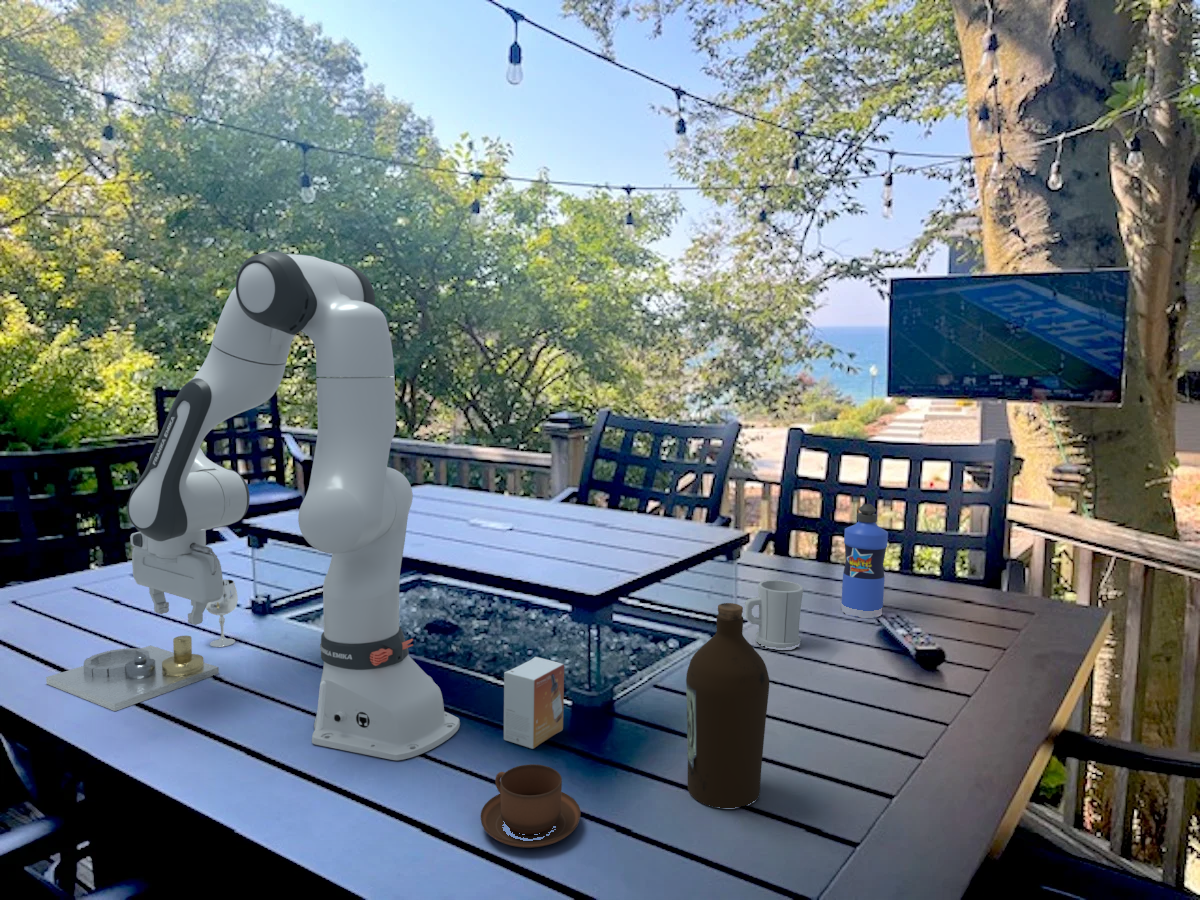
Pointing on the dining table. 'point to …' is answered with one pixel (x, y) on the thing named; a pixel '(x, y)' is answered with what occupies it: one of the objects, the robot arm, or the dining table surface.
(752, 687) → the olive oil
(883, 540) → the water bottle
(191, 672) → the brass flanged cylinder
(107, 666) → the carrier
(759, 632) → the cup
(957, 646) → the dining table surface
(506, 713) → the small box
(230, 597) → the wineglass
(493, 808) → the cup and saucer
